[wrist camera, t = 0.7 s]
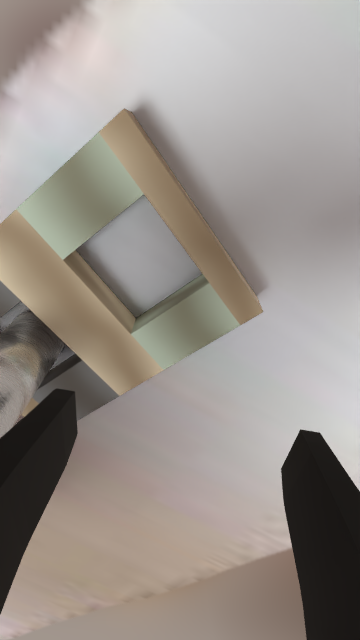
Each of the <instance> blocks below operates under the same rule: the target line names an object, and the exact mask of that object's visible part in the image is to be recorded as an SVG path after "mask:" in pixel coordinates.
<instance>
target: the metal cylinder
mask: <svg viewBox="0 0 360 640" xmlns="http://www.w3.org/2000/svg"><path fill="white" fill-rule="evenodd" d="M64 346H65V343H64V342H63V341H62V340H61V339H60V338H59V337H58V336H57V335H56V334H55V333H54V332H53V331H52V330H51V329H50V328H49V327H48V326H47V325H46V324H45V323H44V322H43V321H42V320H40V319H39V318H38V317H37V316H36V315H35V314H34V313H33V312H32V311H30V312H25V313H22V314H21V315H19V316H18V317H17V318H16V319H15V320H14V321H13V322H12V323H10V324H9V325H8V326H7V327H6V328H5V329H4V330H3V331H2V332H1V333H0V438H1V437H2V436H3V435H4V434H5V433H7V432H8V431H9V430H10V429H11V428H12V427H13V426H14V425H15V424H16V422H17V420H18V419H19V417H20V416H21V414H22V413H23V411H24V409H25V408H26V406H27V405H28V403H29V402H30V400H31V398H32V397H33V395H34V394H35V392H36V391H37V389H38V387H39V386H40V384H41V383H42V381H43V379H44V378H45V376H46V375H47V373H48V372H49V370H50V368H51V367H52V365H53V364H54V362H55V361H56V359H57V357H58V356H59V354H60V353H61V351H62V350H63V348H64Z"/></svg>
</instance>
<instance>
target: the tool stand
mask: <svg viewBox="0 0 360 640" xmlns="http://www.w3.org/2000/svg"><path fill="white" fill-rule="evenodd" d="M142 195H145V196H146V197H147V199H148V200H149V201H150V203H151V204H152V206H153V207H154V208H155V210H156V211H157V212H158V214H159V215H160V216H161V218H162V219H163V221H164V222H165V223H166V225H167V226H168V227H169V229H170V230H171V231H172V233H173V234H174V236H175V237H176V238H177V240H178V241H179V242H180V244H181V245H182V246H183V248H184V249H185V251H186V252H187V253H188V255H189V256H190V257H191V259H192V260H193V261H194V263H195V264H196V266H197V267H198V268H199V270H200V271H201V272H202V275H200V276H199V277H197V278H196V279H194V280H193V281H191V282H190V283H188V284H187V285H185V286H184V287H182V288H181V289H179V290H178V291H176V292H175V293H173V294H172V295H170V296H169V297H167V298H166V299H164V300H163V301H161V302H160V303H158V304H157V305H155V306H154V307H152V308H151V309H149V310H148V311H146V312H145V313H143V314H142V315H140V316H139V317H137V318H135V317H134V316H133V315H132V314H131V312H130V311H129V310H128V309H127V308H126V307H125V306H124V305H123V303H122V302H121V301H120V300H119V299H118V298H117V297H116V295H115V294H114V293H113V292H112V291H111V290H110V289H109V288H108V286H107V285H106V284H105V283H104V282H103V281H102V280H101V279H100V277H99V276H98V275H97V274H96V273H95V272H94V271H93V270H92V268H91V267H90V266H89V265H88V264H87V263H86V262H85V261H84V259H83V258H82V257H81V256H80V255H79V254H78V253H77V251H76V249H77V248H78V247H79V246H81V245H82V244H83V243H84V242H86V241H87V240H88V239H89V238H90V237H92V236H93V235H94V234H95V233H97V232H98V231H99V230H100V229H102V228H103V227H104V226H105V225H107V224H108V223H109V222H110V221H112V220H113V219H114V218H115V217H116V216H118V215H119V214H120V213H121V212H123V211H124V210H125V209H126V208H128V207H129V206H130V205H131V204H133V203H134V202H135V201H136V200H137V199H139V198H140V197H141V196H142ZM20 301H22V302H23V303H24V304H25V305H26V306H27V307H28V308H29V309H30V310H31V311H32V312H33V313H34V314H35V315H36V316H37V317H38V318H39V319H40V320H42V321H43V322H44V323H45V324H46V325H47V326H48V327H49V328H50V329H51V330H52V331H53V332H54V333H55V334H56V335H57V336H58V337H59V338H60V339H61V340H62V341H63V342H64V343H65V344H66V345H67V346H68V347H69V348H70V349H71V350H72V351H74V352H75V353H76V354H74V355H73V356H71V357H70V358H68V359H67V360H66V361H64V362H63V363H61V364H60V365H58V366H57V367H55V368H54V369H52V370H51V371H49V372H48V373H47V375H46V376H45V378H44V379H43V381H42V383H41V384H40V386H39V387H38V389H37V391H36V392H35V394H34V395H33V397H32V398H31V400H30V402H29V403H28V405H27V406H26V408H25V409H24V411H23V413H22V414H21V415H22V416H24V417H25V416H26V415H27V414H28V413H29V412H30V411H31V410H33V409H34V408H35V407H36V406H37V405H38V404H39V403H40V402H41V401H42V400H43V399H44V398H45V397H46V396H48V395H49V394H50V393H51V392H52V391H53V390H54V389H56V388H58V389H64V390H70V391H75V399H76V417H77V420H79V419H81V418H83V417H84V416H86V415H88V414H89V413H91V412H93V411H95V410H96V409H98V408H100V407H101V406H103V405H105V404H107V403H108V402H110V401H112V400H113V399H115V398H117V397H119V396H120V395H122V394H124V393H125V392H127V391H129V390H131V389H132V388H134V387H136V386H137V385H139V384H141V383H142V382H144V381H146V380H148V379H149V378H151V377H153V376H154V375H156V374H158V373H160V372H161V371H163V370H165V369H166V368H168V367H170V366H172V365H173V364H175V363H177V362H178V361H180V360H182V359H184V358H185V357H187V356H189V355H190V354H192V353H194V352H195V351H197V350H199V349H201V348H202V347H204V346H206V345H207V344H209V343H211V342H213V341H214V340H216V339H218V338H219V337H221V336H223V335H225V334H226V333H228V332H230V331H231V330H233V329H235V328H237V327H238V326H240V325H242V324H243V323H245V322H247V321H249V320H250V319H252V318H254V317H255V316H257V315H259V314H260V313H262V312H263V310H262V308H261V305H260V303H259V300H258V298H257V296H256V295H255V293H254V292H253V290H252V289H251V287H250V286H249V284H248V283H247V282H246V280H245V279H244V277H243V276H242V274H241V273H240V271H239V270H238V268H237V267H236V265H235V264H234V262H233V261H232V259H231V258H230V256H229V255H228V254H227V252H226V251H225V249H224V248H223V246H222V245H221V243H220V242H219V240H218V239H217V237H216V236H215V234H214V233H213V231H212V230H211V228H210V227H209V226H208V224H207V223H206V221H205V220H204V218H203V217H202V215H201V214H200V212H199V211H198V209H197V208H196V206H195V205H194V203H193V202H192V201H191V199H190V198H189V196H188V195H187V193H186V192H185V190H184V189H183V187H182V186H181V184H180V183H179V181H178V180H177V178H176V177H175V175H174V174H173V173H172V171H171V170H170V168H169V167H168V165H167V164H166V162H165V161H164V159H163V158H162V156H161V155H160V153H159V152H158V150H157V149H156V147H155V146H154V145H153V143H152V142H151V140H150V139H149V137H148V136H147V134H146V133H145V131H144V130H143V128H142V127H141V125H140V124H139V122H138V121H137V119H136V118H135V117H134V115H133V114H132V112H130V111H128V110H126V109H123V110H122V111H121V112H120V113H119V114H118V115H117V116H116V117H114V118H113V119H112V120H111V121H110V122H109V123H108V124H107V125H106V126H105V127H104V128H103V129H102V130H101V131H99V132H98V133H97V134H96V135H95V136H94V137H93V138H92V139H91V140H90V141H89V142H88V143H87V144H86V145H85V146H83V147H82V148H81V149H80V150H79V151H78V152H77V153H76V154H75V155H74V156H73V157H72V158H71V159H70V160H68V161H67V162H66V163H65V164H64V165H63V166H62V167H61V168H60V169H59V170H58V171H57V172H56V173H55V174H53V175H52V176H51V177H50V178H49V179H48V180H47V181H46V182H45V183H44V184H43V185H42V186H41V187H40V188H38V189H37V190H36V191H35V192H34V193H33V194H32V195H31V196H30V197H29V198H28V199H27V200H26V201H25V202H23V203H22V204H21V205H20V206H19V207H18V208H17V209H16V210H15V211H14V212H13V213H12V214H11V215H10V216H8V217H7V218H6V219H5V220H4V221H3V222H2V223H1V224H0V317H2V316H3V315H4V314H5V313H7V312H8V311H9V310H10V309H12V308H13V307H14V306H15V305H17V304H18V303H19V302H20Z"/></svg>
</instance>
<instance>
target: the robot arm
mask: <svg viewBox="0 0 360 640" xmlns="http://www.w3.org/2000/svg"><path fill="white" fill-rule="evenodd" d="M76 437H77V417H76V399H75V391H70V390H64V389H58V388H56V389H54V390H53V391H52V392H51V393H50V394H49V395H48V396H46V397H45V398H44V399H43V400H42V401H41V402H40V403H39V404H38V405H37V406H36V407H35V408H34V409H33V410H31V411H30V412H29V413H28V414H27V415H26V416H25V417H24V418H23V419H21V420H20V421H19V422H18V423H17V424H16V425H15V426H13V427H12V428H11V429H10V430H9V431H8V432H7V433H5V434H4V435H3V436H2V437H1V438H0V614H1V611H2V609H3V606H4V603H5V601H6V598H7V595H8V593H9V590H10V588H11V585H12V582H13V580H14V577H15V575H16V572H17V570H18V567H19V564H20V562H21V559H22V557H23V554H24V552H25V550H26V548H27V545H28V543H29V541H30V539H31V537H32V534H33V532H34V530H35V528H36V526H37V524H38V522H39V520H40V518H41V516H42V514H43V512H44V510H45V508H46V506H47V504H48V502H49V500H50V498H51V496H52V494H53V492H54V490H55V487H56V485H57V483H58V481H59V479H60V477H61V475H62V473H63V471H64V469H65V467H66V464H67V462H68V459H69V456H70V454H71V451H72V448H73V445H74V442H75V439H76ZM281 473H282V488H283V499H284V506H285V512H286V517H287V522H288V528H289V533H290V538H291V543H292V548H293V553H294V558H295V563H296V568H297V573H298V579H299V583H300V589H301V596H302V601H303V610H304V619H305V628H306V637H307V640H360V491H359V490H358V488H357V487H356V486H355V484H354V483H353V481H352V480H351V478H350V477H349V475H348V474H347V472H346V471H345V469H344V468H343V467H342V465H341V464H340V462H339V461H338V459H337V458H336V456H335V455H334V453H333V452H332V450H331V449H330V447H329V446H328V444H327V443H326V441H325V440H324V438H323V437H322V435H321V434H320V433H318V432H312V431H306V430H300V431H299V434H298V436H297V438H296V440H295V442H294V444H293V446H292V448H291V450H290V452H289V454H288V456H287V458H286V460H285V462H284V464H283V466H282V468H281Z"/></svg>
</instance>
